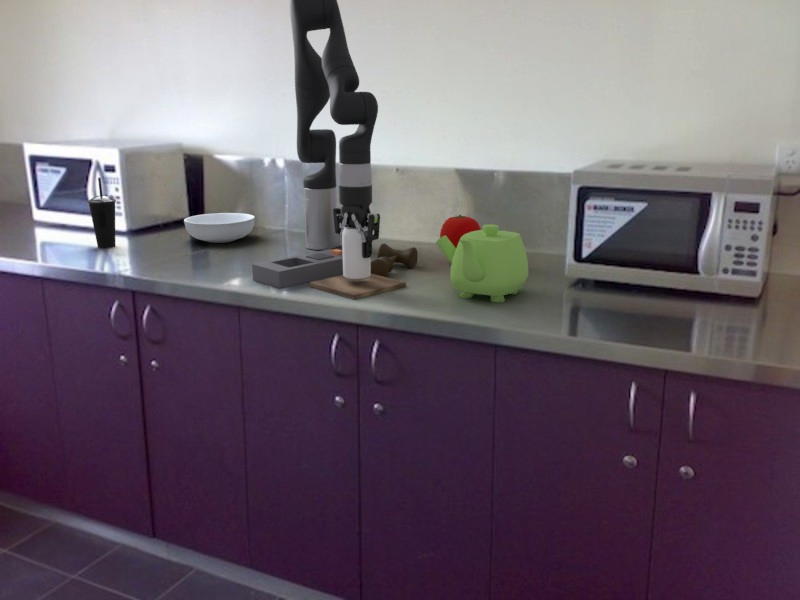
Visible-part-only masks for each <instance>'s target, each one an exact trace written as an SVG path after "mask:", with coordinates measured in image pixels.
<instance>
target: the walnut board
mask: <svg viewBox="0 0 800 600" xmlns="http://www.w3.org/2000/svg"><path fill="white" fill-rule="evenodd" d="M308 283H309V287H310V288H313V287H314V288H313V289H316V288H317V290H320V289H321V290H320V291H323V290H324V291H323V292H327V291H328V292H327V293H330V292H331V294H333V293H335V294H334V295H337V294H339V295H338V296H340V295H342V296H341V297H344V296H347V297H350V298H353V299H352V300H356V299H355V298H358V299H361V298H360V297H362V298H366V297H369V295H370V296H375V295H377V294H381V293H385V292H389V291H393V290H394V291H395V290H397V289H398V290H399V289H401V288H405V287H407V284H406V283H407V281H403V280H399V279H394V278H390V277H387V276H386V277H383V276H379V275H375V274H371V275H370V276H369V278H367V279H362V280H350V279H346V278H345V277H344V276H343V274H342V275H338V276H333V277H329V278H324V279H320V280H315V281H311V282H308ZM365 296H366V297H365ZM347 297H346V298H347ZM350 298H349V299H350Z"/></svg>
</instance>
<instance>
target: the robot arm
mask: <svg viewBox="0 0 800 600" xmlns="http://www.w3.org/2000/svg"><path fill="white" fill-rule="evenodd" d="M289 13H290V14H289V16H290V17H289V18H290V25H291V32H292V33H291V34H292V41H293V51H294V53H293V54H294V55H293V56H294V57H293V58H294V59H293V61H294V88H295V89H294V91H295V99H296V100H295V101H296V116H297V117H296V119H297V120H296V153H297V157H298V159H299V161H300V162H302V163H304V164H324V166H323V167H322V168H321V169H320V170H318V171H316V172H313V173H312V174H309V175H306V176H305V177H304V178H303V200H304V201H303V203H304V227H305V228H304V230H305V231H304V232H305V247H306V249H310V250H315V251H316V250H319V251H323V250H328V249H331V250H334V249H337V248H338V247H340V246H341V247H342V232H343V230H344V226H345V227H348V226H349V227H354V228H357V232H358V233H360V234H361V238H362V241H363V242H362V257H363V258H370V257H371V258H372V255H373V241H376V240H378V239H379V238H380V228H381V226H380V224H381V223H380V222H381V215H380V213H372V212H371V209H370V205H372V203H373V172H372V164H371V163H372V162H371V161H372V160H371V154H372V153H371V144H372V138H373V134H374V129H375V125H376V122H377V119H378V118H377V117H378V113H379V112H378V111H379V105H378V104H379V103H378V101H377V98H376V96H375V95H374V94H373V93H372V92H370V91H357V90H358V88H359V86H360V77H359V75H358V72H357V70H356V67H355V64H354V62H353V59H352V56H351V54H350V53H351V52H350V50H349V45H348V43H347V37H346V33H345V32H346V31H345V26H344V23H343V19H342V16H341V11H340V7H339V3H338V0H289ZM327 29H329V36H328V39H327V41H326V44H325V46H324V49H323V52H322V53H321V54H322V56H320V55H319V54H318V52H317V51H316V50H315V48H314V47H313V46H312V44H311V42H310V41H309V39H308V32H311V31H313V32H314V31H319V30H320V31H321V30H327ZM328 102H329V113H330V117H331V119H333V121H334V122H335V123H336V124H338V125H341V126H349V125H350V126H351V125H352V126H354V125H357V126H358V127H357V129H356V131H355V132H354V133H352V134H348V135H345V136H343V137H341V138H340V139H339V142H338V156H339V157H338V159H339V163H338V164H339V165H338V166H339V167H338V196H337V173H336V170H337V169H336V164H337V163H336V161H337V138H336V134H335V131H334V130H332V129H327V128H326V129H325V128H324V129H323V128H322V129H321V128H320V129H319V128H318V129H311V127H312V125H313V122H314V120H315V119H316V118H317V116H319V114H320V113H321V112H322V110H324V108H325V106H326V105H327V104H328ZM337 198H338V200H337ZM337 201H338V202H337ZM338 203H339V204H340V205H342V206H341V207H338ZM347 225H348V226H347ZM365 226H366V227H367V228H364V227H365ZM365 232H367V233H368V235H367V236H366V234H365Z"/></svg>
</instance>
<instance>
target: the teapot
mask: <svg viewBox="0 0 800 600" xmlns="http://www.w3.org/2000/svg"><path fill="white" fill-rule="evenodd" d="M499 229H500V225H497V224H491V223H489V224H483V225H482V229H481V230H477V231H473V232H469V233H467V234H465V235H463V236H462V237H461V238H460V241H459V243H458V245H457V248H455V247H454V245H453V244H452V243H451V242H450V240H449V239H448V238H447V236H446V235H445V236H443V237H441V238H440V237H439V239H437V240H436V242H435V245H436V246H437V247H438V248H439V249H440V250H441V252H442V253H443V254H444V256H445V257H446V258H447V259H448V260H449V262H450V263H451V265H450V272H449V273H450V277H449V278H450V283H451V284H452V287H453V288H454V290H456V291H459V292H461V293H460V294H459V295H458V297H459V298H461V299H472V298H474V295H481V296H482V295H484V296H490V302H491V301H492V302H491V303H493V302H504V301H505V302H506V298H505V295H506V296H507V295H508V294H516V293H518V292H519V290H520V289H522V288H523V286H524V285H525V283H526V281H527V280H528V276H529V261H528V255H527V252H526V248H525V244H524V241H523V239H522V236H521V234H520V233H519V232H514V231H508V230H499ZM505 302H504V303H505Z"/></svg>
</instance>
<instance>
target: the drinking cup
mask: <svg viewBox="0 0 800 600" xmlns="http://www.w3.org/2000/svg"><path fill="white" fill-rule="evenodd" d="M97 181H98V189H99V195H97V196H94V197H92V198H90V199H88V200H87V203H88V206H89V210H90V215H91V220H92V226H93V230H94V235H95V240H96V244H97V248H98V249H110V248H111V249H112V248H115V247H116V202H117V199H116V198H113V197H111V196H109V195H103V188H102V177H98V178H97Z"/></svg>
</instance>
